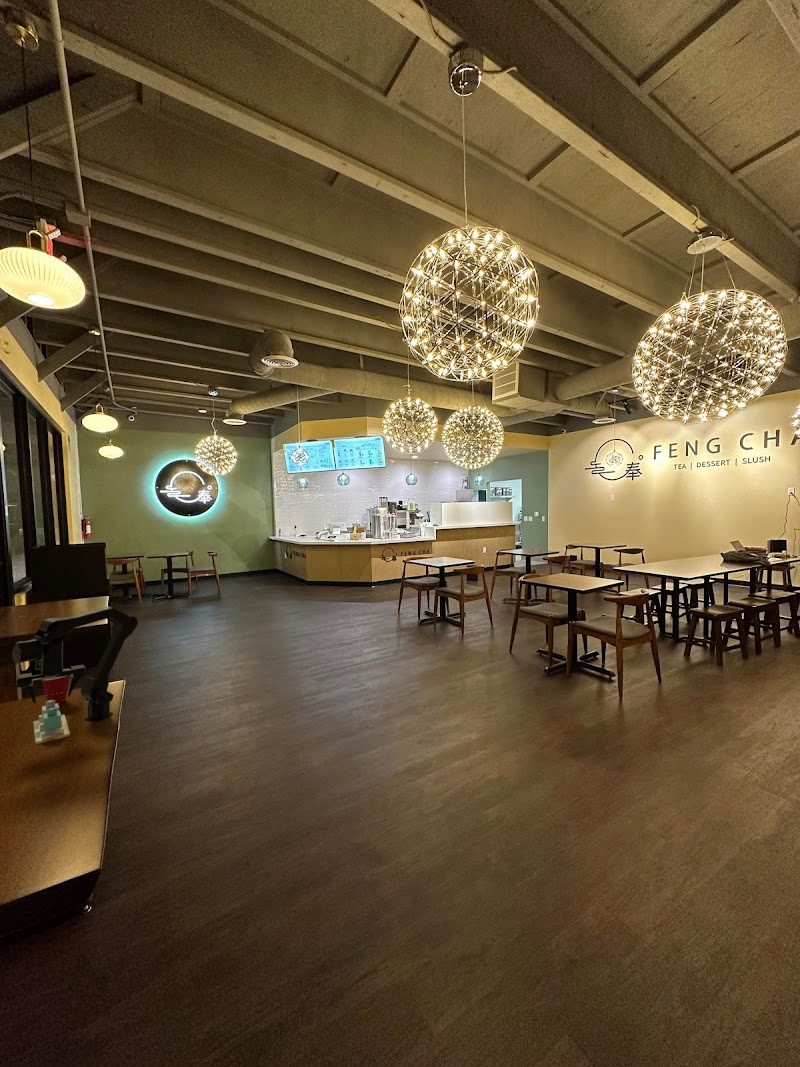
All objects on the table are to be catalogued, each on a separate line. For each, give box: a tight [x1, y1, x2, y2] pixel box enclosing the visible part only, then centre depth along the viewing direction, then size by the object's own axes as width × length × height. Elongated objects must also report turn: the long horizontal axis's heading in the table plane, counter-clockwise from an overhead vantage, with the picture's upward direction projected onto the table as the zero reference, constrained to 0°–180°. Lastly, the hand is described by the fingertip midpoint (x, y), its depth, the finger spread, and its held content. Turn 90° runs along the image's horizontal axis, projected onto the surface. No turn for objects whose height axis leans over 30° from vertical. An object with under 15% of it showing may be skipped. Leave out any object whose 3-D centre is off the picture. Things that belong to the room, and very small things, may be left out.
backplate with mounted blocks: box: [32, 714, 71, 745], centre depth 154 cm, size 9×19×3 cm, turn 42°
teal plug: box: [43, 707, 62, 732], centre depth 151 cm, size 4×4×8 cm
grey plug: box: [41, 700, 60, 723], centre depth 157 cm, size 4×4×8 cm
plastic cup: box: [40, 668, 71, 705], centre depth 176 cm, size 11×11×12 cm
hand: (52, 699), depth 150 cm, fingers open, 9 cm apart
